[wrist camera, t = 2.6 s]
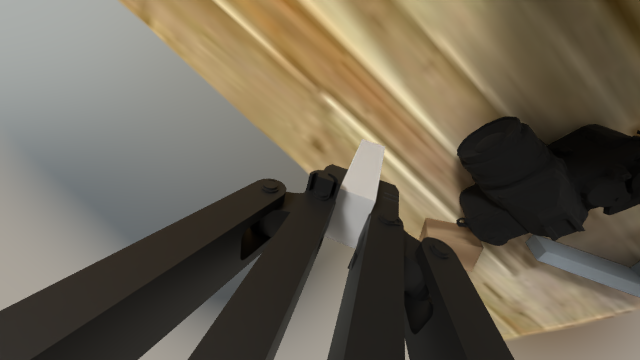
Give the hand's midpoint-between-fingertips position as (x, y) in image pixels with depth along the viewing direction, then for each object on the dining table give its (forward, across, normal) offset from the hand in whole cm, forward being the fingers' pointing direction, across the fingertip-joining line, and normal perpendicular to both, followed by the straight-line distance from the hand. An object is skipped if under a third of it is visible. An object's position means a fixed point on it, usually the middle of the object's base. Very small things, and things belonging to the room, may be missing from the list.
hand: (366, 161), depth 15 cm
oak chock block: (+15, +14, -13) cm, 24 cm away
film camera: (+15, +14, 0) cm, 21 cm away
